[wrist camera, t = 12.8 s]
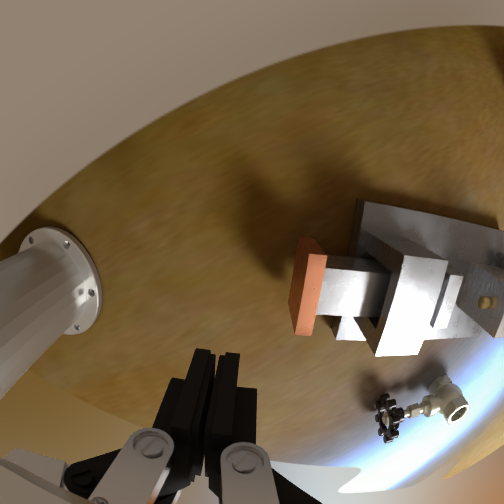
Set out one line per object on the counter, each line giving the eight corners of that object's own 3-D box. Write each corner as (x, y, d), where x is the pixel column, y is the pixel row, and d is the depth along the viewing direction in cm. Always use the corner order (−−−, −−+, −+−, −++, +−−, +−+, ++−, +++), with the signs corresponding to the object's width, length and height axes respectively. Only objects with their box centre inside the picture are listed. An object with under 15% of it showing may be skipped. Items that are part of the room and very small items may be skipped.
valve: (455, 362, 30) (379, 384, 30) (478, 391, 23) (397, 421, 24) (443, 396, 32) (371, 417, 32) (462, 425, 25) (385, 453, 26)
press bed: (331, 329, 28) (353, 382, 20) (357, 199, 24) (399, 213, 16) (470, 328, 28) (506, 363, 20) (499, 229, 25) (547, 248, 17)
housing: (450, 306, 25) (486, 339, 18) (463, 262, 24) (506, 287, 17) (484, 307, 25) (519, 334, 18) (497, 266, 24) (536, 288, 17)
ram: (288, 303, 25) (294, 334, 20) (298, 235, 23) (309, 253, 18) (420, 310, 25) (446, 336, 20) (436, 252, 24) (468, 270, 19)
